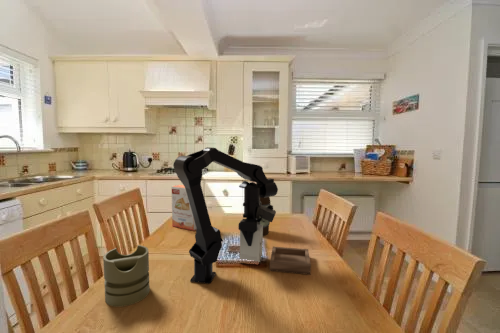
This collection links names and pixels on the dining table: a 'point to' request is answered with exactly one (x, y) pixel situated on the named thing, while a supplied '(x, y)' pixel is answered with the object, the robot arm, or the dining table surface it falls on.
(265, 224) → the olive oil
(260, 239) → the supplement box
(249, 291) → the dining table surface
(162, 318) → the dining table surface
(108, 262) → the green divided utensil holder
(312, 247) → the dining table surface
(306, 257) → the holder tray
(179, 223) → the cracker box
